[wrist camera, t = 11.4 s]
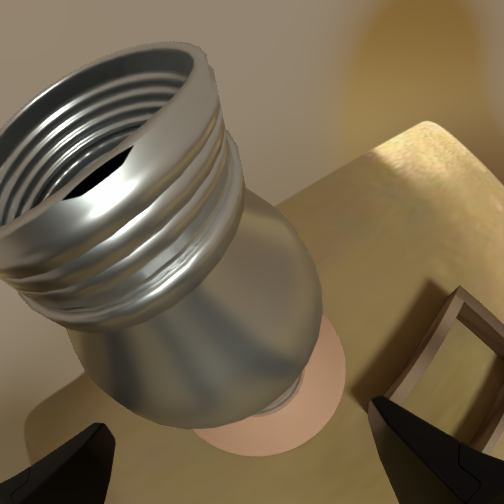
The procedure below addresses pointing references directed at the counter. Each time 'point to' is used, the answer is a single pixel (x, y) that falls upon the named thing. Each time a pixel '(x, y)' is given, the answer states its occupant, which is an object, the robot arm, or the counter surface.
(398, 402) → the brown wooden frame
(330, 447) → the counter surface
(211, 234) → the metal threaded bottle
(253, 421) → the terracotta saucer
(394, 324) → the counter surface
